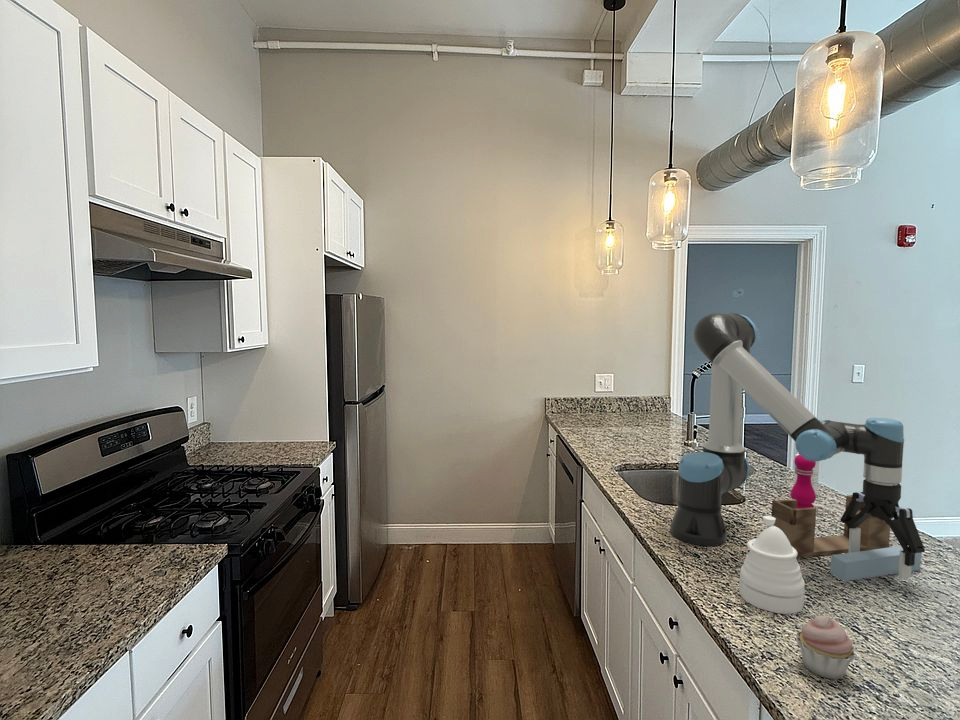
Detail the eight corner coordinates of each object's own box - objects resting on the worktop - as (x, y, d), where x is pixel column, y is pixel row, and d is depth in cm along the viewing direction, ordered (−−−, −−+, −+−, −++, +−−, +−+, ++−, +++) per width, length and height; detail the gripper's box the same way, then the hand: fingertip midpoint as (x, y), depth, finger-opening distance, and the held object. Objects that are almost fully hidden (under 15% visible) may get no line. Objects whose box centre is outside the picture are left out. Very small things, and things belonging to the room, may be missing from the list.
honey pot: (728, 584, 125) (731, 511, 124) (779, 582, 126) (783, 510, 125) (760, 614, 112) (764, 533, 111) (817, 612, 113) (822, 532, 112)
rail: (844, 582, 127) (846, 562, 126) (830, 574, 131) (831, 555, 130) (920, 570, 133) (921, 551, 132) (903, 563, 137) (905, 545, 136)
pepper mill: (790, 510, 173) (793, 451, 172) (789, 503, 180) (792, 446, 178) (816, 514, 170) (819, 453, 168) (814, 507, 176) (817, 448, 175)
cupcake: (848, 694, 89) (852, 638, 88) (787, 667, 95) (790, 615, 95) (861, 669, 95) (864, 616, 94) (802, 645, 102) (805, 596, 101)
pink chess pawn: (792, 493, 190) (794, 454, 189) (802, 491, 193) (804, 452, 191) (808, 498, 185) (810, 458, 184) (818, 495, 188) (820, 456, 186)
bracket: (791, 558, 139) (793, 510, 138) (769, 545, 146) (771, 500, 145) (889, 549, 144) (892, 503, 143) (863, 537, 152) (866, 493, 151)
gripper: (947, 496, 118) (942, 587, 120) (850, 466, 143) (847, 542, 144) (920, 498, 117) (915, 590, 118) (826, 468, 141) (823, 545, 143)
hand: (878, 564), depth 131 cm, fingers open, 13 cm apart
